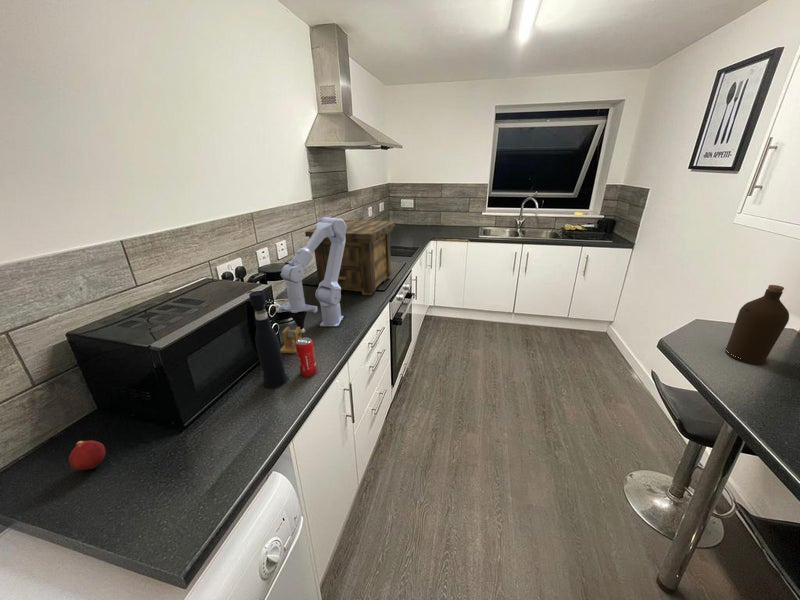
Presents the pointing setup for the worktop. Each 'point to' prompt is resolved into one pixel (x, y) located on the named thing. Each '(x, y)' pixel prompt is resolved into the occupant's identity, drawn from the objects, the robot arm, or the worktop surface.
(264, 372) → the black bottle
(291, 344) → the bracket
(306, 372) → the beverage can
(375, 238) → the crate
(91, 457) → the onion
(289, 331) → the tap lever
